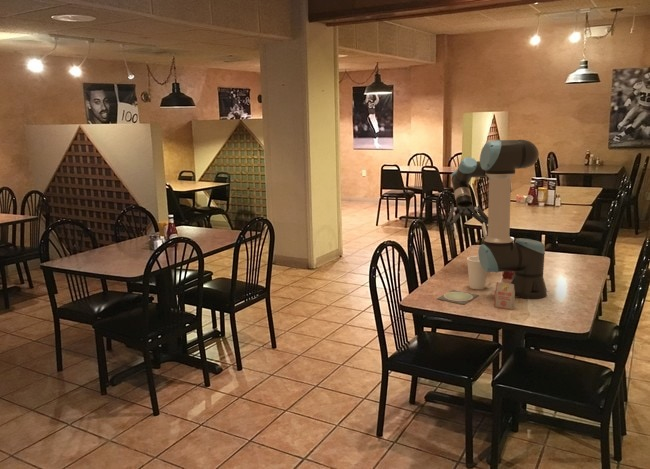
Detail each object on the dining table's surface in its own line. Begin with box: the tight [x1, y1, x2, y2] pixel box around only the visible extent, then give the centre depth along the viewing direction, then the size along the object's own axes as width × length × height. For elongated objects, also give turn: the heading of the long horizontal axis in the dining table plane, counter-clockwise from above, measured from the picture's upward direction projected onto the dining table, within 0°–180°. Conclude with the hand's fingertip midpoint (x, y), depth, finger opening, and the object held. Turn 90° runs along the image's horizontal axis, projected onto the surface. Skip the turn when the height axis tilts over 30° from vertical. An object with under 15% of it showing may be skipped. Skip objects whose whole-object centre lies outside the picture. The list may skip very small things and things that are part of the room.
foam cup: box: [466, 255, 488, 290], centre depth 250 cm, size 10×9×13 cm
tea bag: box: [493, 281, 516, 311], centre depth 225 cm, size 4×7×10 cm, turn 56°
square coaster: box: [436, 289, 480, 306], centre depth 238 cm, size 12×14×1 cm
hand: (470, 236), depth 260 cm, fingers open, 13 cm apart
